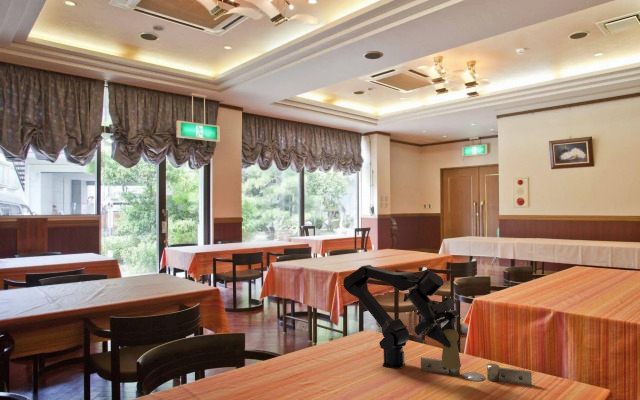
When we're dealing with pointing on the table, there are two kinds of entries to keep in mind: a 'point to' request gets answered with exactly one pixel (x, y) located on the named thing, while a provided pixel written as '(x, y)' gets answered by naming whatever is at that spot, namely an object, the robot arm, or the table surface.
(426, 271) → the robot arm
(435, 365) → the hinge frame
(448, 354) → the olive rounded piece
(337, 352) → the table surface
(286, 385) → the table surface
